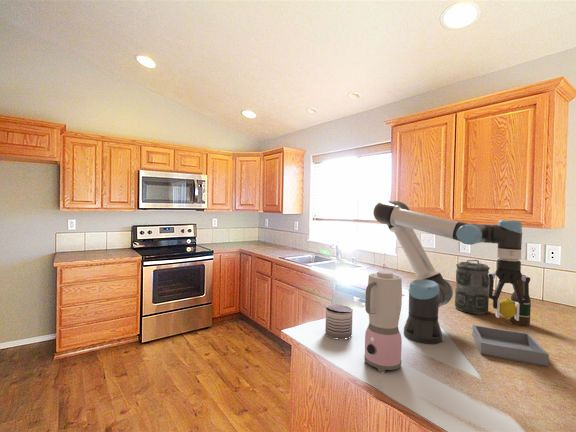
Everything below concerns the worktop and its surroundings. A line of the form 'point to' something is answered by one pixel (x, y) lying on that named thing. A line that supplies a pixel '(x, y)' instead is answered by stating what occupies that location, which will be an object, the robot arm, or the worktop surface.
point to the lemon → (507, 308)
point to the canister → (472, 287)
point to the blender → (383, 321)
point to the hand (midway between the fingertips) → (506, 318)
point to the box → (509, 345)
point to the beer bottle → (525, 314)
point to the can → (338, 321)
